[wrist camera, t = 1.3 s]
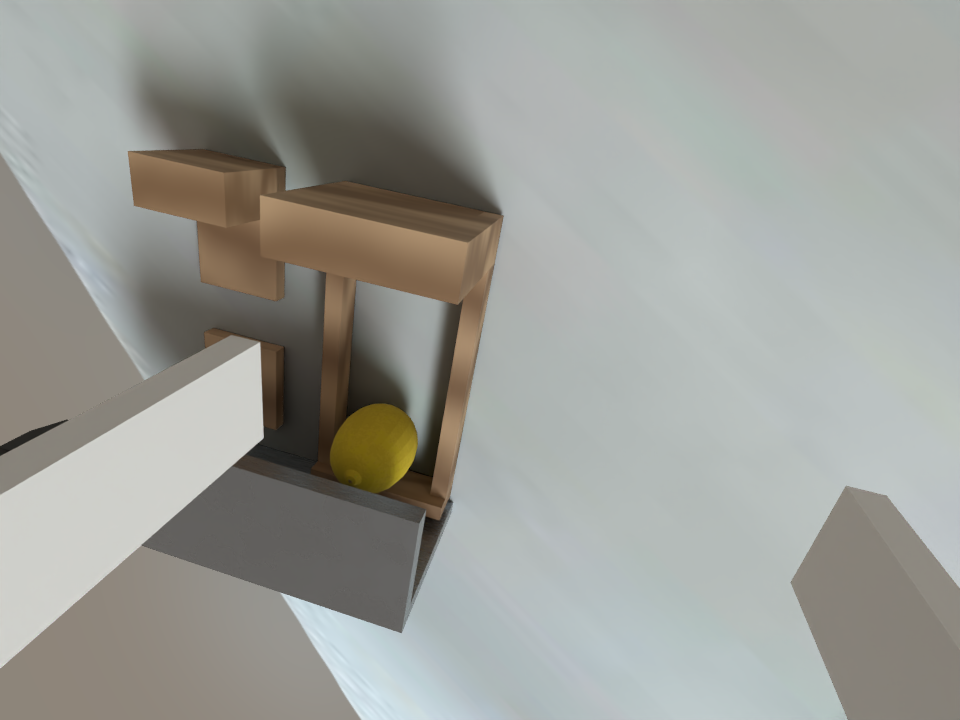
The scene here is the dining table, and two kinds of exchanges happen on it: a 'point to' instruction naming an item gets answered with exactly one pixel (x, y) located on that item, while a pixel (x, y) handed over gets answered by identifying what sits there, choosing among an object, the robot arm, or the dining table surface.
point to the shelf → (308, 537)
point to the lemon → (374, 448)
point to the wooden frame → (394, 264)
